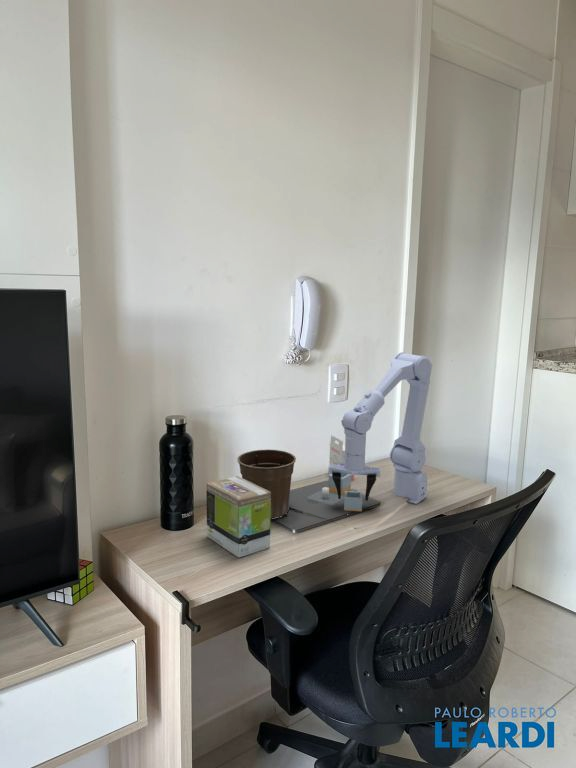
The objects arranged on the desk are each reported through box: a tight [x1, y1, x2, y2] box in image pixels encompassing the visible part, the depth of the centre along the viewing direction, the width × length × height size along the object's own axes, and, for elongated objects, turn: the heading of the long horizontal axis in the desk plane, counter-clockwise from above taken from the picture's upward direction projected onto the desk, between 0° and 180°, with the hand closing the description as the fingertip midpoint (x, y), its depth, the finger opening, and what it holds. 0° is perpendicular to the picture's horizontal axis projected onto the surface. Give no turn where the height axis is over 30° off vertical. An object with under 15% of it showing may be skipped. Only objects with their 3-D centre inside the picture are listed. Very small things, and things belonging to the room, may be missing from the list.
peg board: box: [306, 486, 359, 506], centre depth 175 cm, size 9×15×4 cm, turn 144°
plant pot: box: [237, 449, 297, 521], centre depth 163 cm, size 16×16×16 cm
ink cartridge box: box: [328, 435, 355, 481], centre depth 190 cm, size 9×5×15 cm, turn 25°
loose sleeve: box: [343, 491, 363, 512], centre depth 165 cm, size 5×5×5 cm
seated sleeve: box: [327, 474, 352, 494], centre depth 178 cm, size 5×5×5 cm
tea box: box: [206, 475, 271, 558], centre depth 144 cm, size 15×10×15 cm, turn 38°
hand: (353, 498), depth 165 cm, fingers open, 7 cm apart
